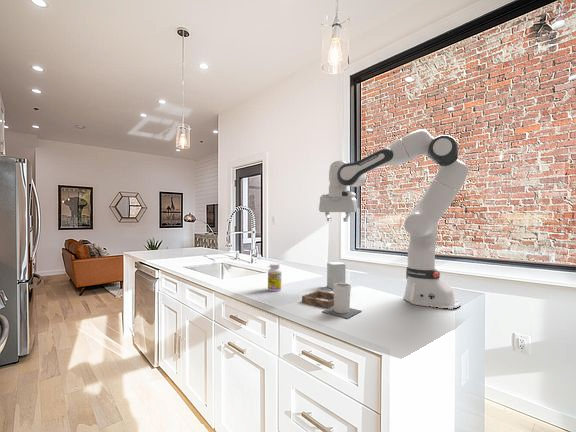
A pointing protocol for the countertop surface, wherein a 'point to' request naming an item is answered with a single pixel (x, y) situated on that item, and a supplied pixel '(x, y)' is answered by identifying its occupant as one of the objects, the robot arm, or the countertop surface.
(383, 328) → the countertop surface
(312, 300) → the walnut tray
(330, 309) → the charcoal mat
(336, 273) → the supplement box
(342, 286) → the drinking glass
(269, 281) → the supplement bottle
